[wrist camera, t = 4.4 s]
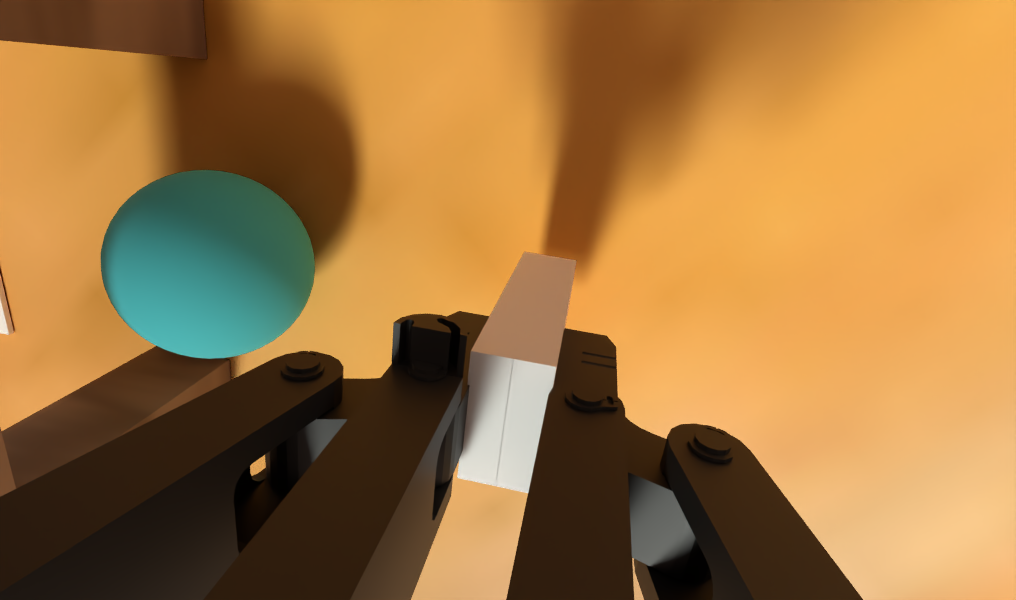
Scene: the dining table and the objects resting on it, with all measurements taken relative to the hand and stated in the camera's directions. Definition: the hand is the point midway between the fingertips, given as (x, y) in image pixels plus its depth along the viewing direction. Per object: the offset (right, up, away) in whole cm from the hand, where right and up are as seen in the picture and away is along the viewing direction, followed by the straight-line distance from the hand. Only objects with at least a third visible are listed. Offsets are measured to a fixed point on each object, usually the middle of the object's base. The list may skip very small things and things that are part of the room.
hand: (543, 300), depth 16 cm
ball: (-10, +1, 0) cm, 10 cm away
